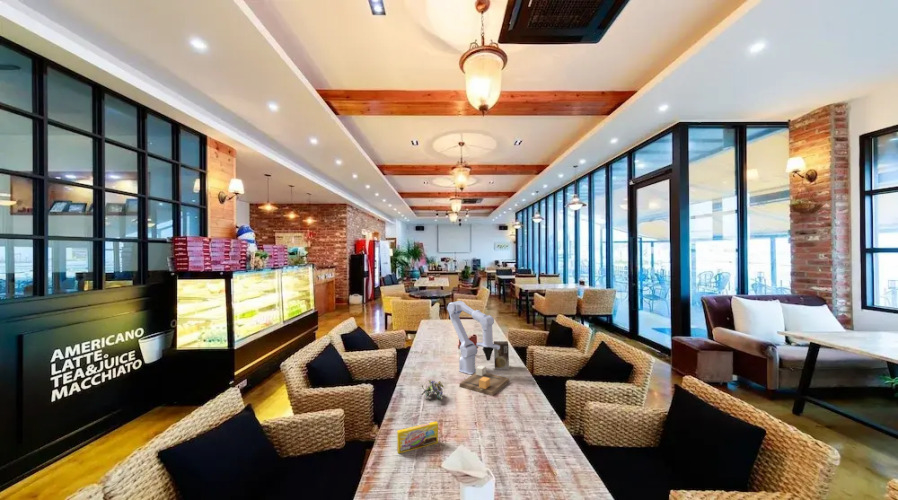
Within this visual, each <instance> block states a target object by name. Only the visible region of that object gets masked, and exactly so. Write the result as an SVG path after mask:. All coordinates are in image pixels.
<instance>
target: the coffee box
mask: <svg viewBox="0 0 898 500" xmlns="http://www.w3.org/2000/svg"><path fill="white" fill-rule="evenodd" d="M493 344H496V345H499V346H500V349H499V350H497V349H493V359H494V360H493V362H494V363H493V364H494V365H493V366H494V370H510V357H509V355H510V351H509V342H508V341H507V340H505V341H504V340H501V341H500V340H499V341H498V340H496V341H494V340H493Z"/></svg>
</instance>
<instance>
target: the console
mask: <svg viewBox="0 0 898 500" xmlns="http://www.w3.org/2000/svg"><path fill="white" fill-rule="evenodd" d="M482 377H487V378H490V386H489V387H488V388H486V389H483V388H480V387H479V379H481V378H482ZM509 383H510V377H505V376H501V375H499V374H498V375H497V374H493V373H488V372H486V374H484V375H483V376H480V375H476V372H475V373H473V374H471V375H470V376H468V377H467V378H465V379H464V380H462V381H460V382H459V388H463V389H466V390H468V391H469V390H470V391H473V392H477V393H480V394H483V395H488V396H491V397H493V396H494V395H495V394H497V392H499V391H500V390H501V389H502V388H504V387H505V386H506V385H507V384H509Z"/></svg>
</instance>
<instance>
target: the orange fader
mask: <svg viewBox="0 0 898 500" xmlns="http://www.w3.org/2000/svg"><path fill="white" fill-rule="evenodd" d="M489 386H490V378H487V377H482V378H481V379H479V387H480V388H483V389H486V388H488V387H489Z"/></svg>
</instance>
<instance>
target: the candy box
mask: <svg viewBox="0 0 898 500" xmlns="http://www.w3.org/2000/svg"><path fill="white" fill-rule="evenodd" d="M396 439H397V440H396V444H397V445H396V451H397V454H398V455H399V454H403V453H406V452H410V451H413V450H417V449H421V448H424V447H429V446H431V445H432V446H433V445H436V444H439V422H438V421H431V422H428V423H424V424H423V423H422V424H419V425H413V426H410V427H406V428H402V429H397V430H396Z"/></svg>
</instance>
